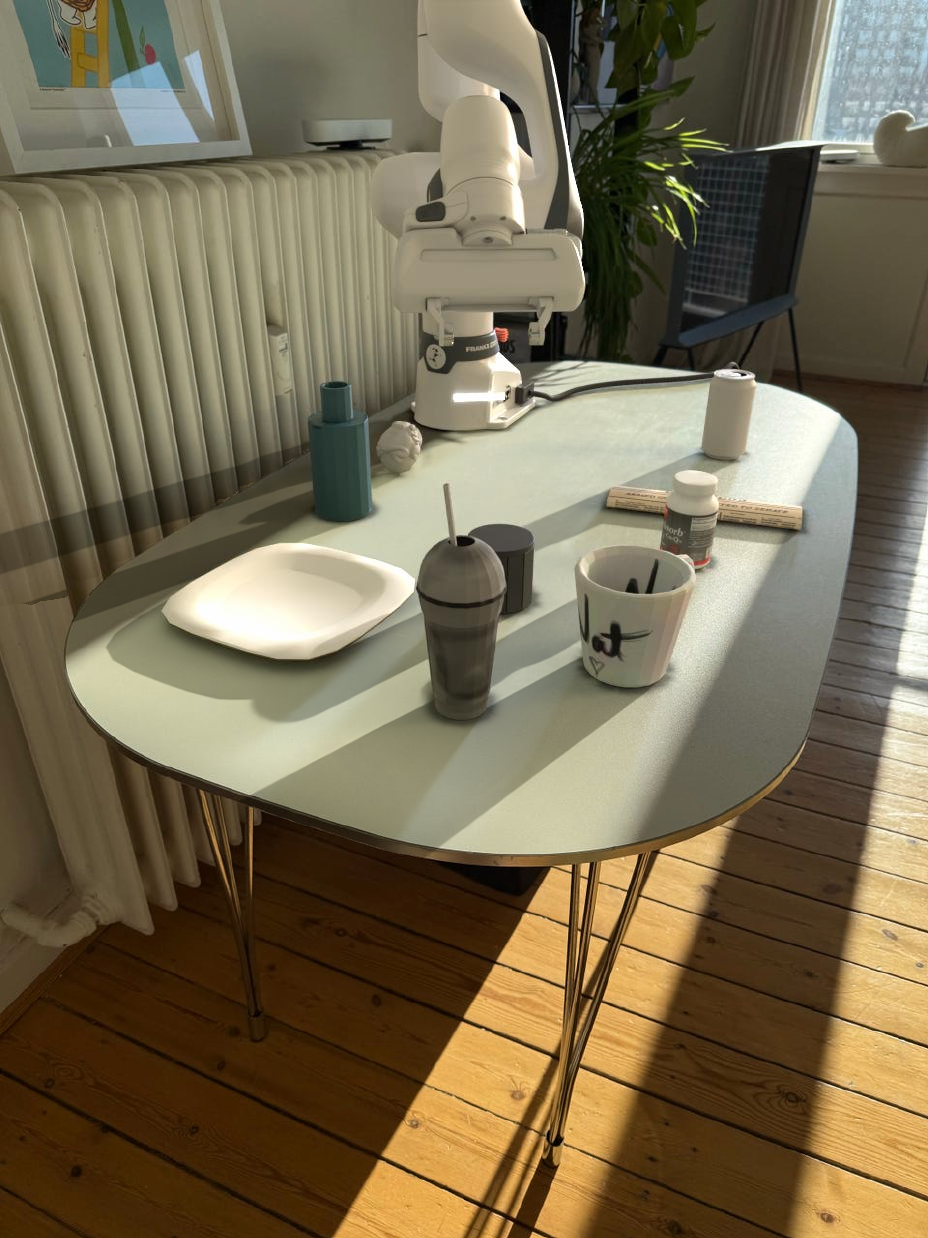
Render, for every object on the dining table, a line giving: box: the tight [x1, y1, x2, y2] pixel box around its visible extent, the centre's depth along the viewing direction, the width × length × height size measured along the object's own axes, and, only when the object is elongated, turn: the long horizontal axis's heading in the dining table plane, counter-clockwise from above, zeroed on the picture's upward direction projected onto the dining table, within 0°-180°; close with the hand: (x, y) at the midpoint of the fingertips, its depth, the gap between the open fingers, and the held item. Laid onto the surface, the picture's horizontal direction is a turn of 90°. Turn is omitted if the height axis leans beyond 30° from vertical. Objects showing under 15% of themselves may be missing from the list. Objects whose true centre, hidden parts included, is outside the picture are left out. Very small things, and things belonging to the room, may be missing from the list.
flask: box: [307, 380, 373, 523], centre depth 110 cm, size 7×7×16 cm
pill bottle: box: [659, 469, 719, 570], centre depth 100 cm, size 6×6×10 cm
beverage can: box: [700, 368, 757, 461], centre depth 130 cm, size 6×6×12 cm
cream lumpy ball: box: [375, 420, 423, 475], centre depth 125 cm, size 6×7×7 cm
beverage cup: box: [415, 482, 507, 721], centre depth 72 cm, size 7×7×20 cm
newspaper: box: [605, 484, 803, 531], centre depth 114 cm, size 24×7×2 cm, turn 73°
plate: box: [161, 542, 416, 662], centre depth 92 cm, size 22×22×2 cm
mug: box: [573, 544, 697, 688], centre depth 82 cm, size 10×15×10 cm
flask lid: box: [467, 523, 535, 615], centre depth 92 cm, size 7×7×7 cm
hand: (491, 342), depth 93 cm, fingers open, 8 cm apart
